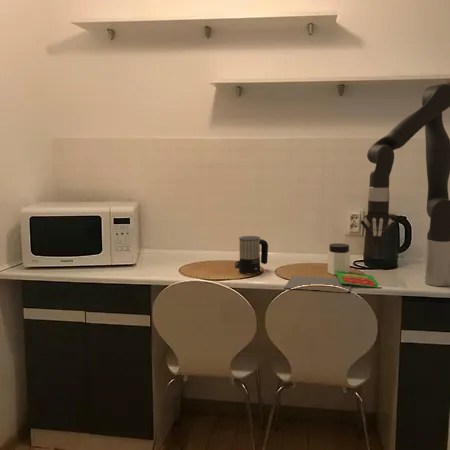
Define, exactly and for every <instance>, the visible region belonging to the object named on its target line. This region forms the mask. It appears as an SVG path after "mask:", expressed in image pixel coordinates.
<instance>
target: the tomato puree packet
mask: <svg viewBox="0 0 450 450" xmlns="http://www.w3.org/2000/svg"><path fill="white" fill-rule="evenodd" d="M335 273H336V275H335V276H337V277H336V278H339V280H340V282H341V283H343V284H351V286H352V285H354V286H360V287H368V288H377V289H378V288H379V289H381V288H380V287H378V285H380V283H378V281H377V280H376V278H374V275H371V274H370V275H368V274H363V273H355V272H350V273H347V272H338V271H335Z"/></svg>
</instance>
